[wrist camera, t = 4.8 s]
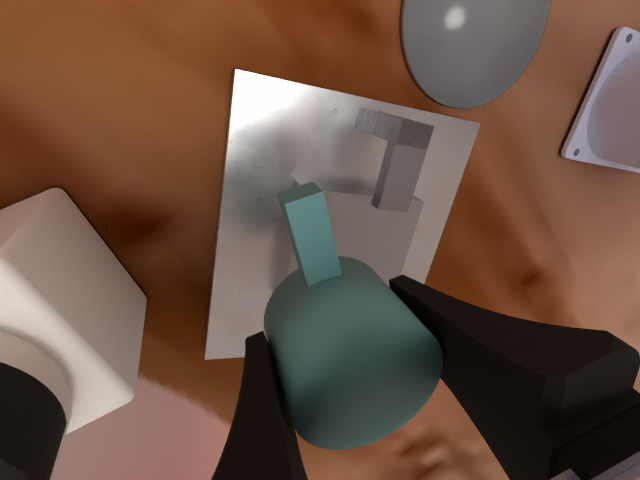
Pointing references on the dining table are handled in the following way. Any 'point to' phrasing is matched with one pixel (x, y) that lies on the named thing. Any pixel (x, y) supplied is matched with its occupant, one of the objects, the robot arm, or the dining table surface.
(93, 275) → the medicine bottle
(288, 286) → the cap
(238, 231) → the post base
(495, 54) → the coaster
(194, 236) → the dining table surface
